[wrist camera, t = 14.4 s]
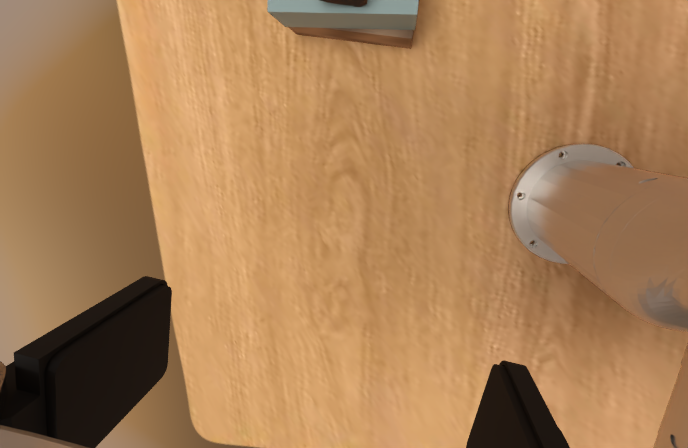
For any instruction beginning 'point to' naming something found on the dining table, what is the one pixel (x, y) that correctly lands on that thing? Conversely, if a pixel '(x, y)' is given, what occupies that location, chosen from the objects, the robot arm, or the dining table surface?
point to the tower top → (346, 14)
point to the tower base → (361, 35)
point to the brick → (348, 2)
